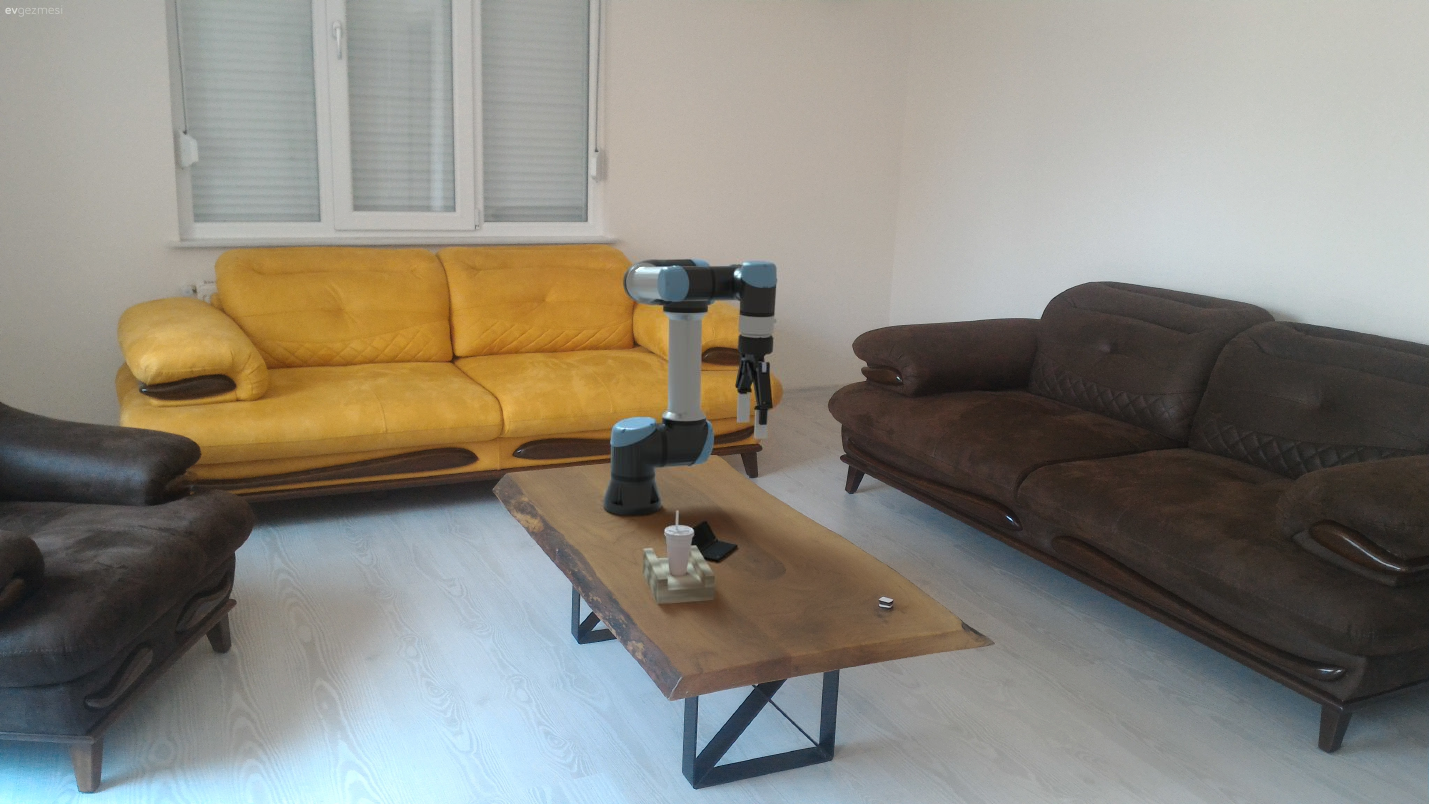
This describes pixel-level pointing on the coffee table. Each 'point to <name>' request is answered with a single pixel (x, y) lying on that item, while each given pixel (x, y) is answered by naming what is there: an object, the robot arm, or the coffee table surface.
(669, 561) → the smoothie
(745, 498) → the coffee table surface
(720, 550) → the handheld gaming console
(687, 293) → the robot arm
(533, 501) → the coffee table surface
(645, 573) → the tray
